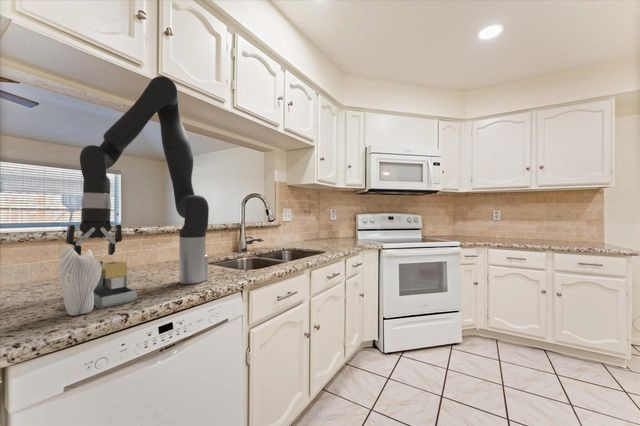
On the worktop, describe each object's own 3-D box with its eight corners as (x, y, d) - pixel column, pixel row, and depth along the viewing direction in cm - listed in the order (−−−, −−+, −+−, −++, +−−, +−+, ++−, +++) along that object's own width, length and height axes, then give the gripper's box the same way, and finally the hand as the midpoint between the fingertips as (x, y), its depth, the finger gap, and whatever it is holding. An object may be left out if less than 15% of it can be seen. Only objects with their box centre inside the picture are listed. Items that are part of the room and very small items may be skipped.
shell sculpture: (94, 305, 79) (94, 242, 79) (102, 312, 73) (102, 244, 73) (54, 313, 72) (54, 244, 72) (59, 321, 67) (60, 247, 67)
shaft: (100, 284, 94) (100, 260, 94) (123, 295, 82) (123, 268, 82) (88, 286, 92) (89, 261, 92) (111, 297, 79) (111, 269, 79)
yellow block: (121, 273, 86) (121, 260, 86) (126, 275, 83) (126, 262, 83) (101, 276, 82) (101, 263, 82) (106, 278, 79) (106, 264, 79)
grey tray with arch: (120, 292, 91) (120, 264, 91) (137, 300, 83) (137, 269, 83) (85, 299, 84) (85, 268, 84) (100, 308, 76) (100, 274, 76)
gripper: (117, 208, 100) (116, 253, 100) (64, 206, 88) (63, 257, 88) (125, 208, 96) (124, 255, 95) (71, 206, 84) (69, 259, 84)
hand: (95, 256), depth 92 cm, fingers open, 8 cm apart
